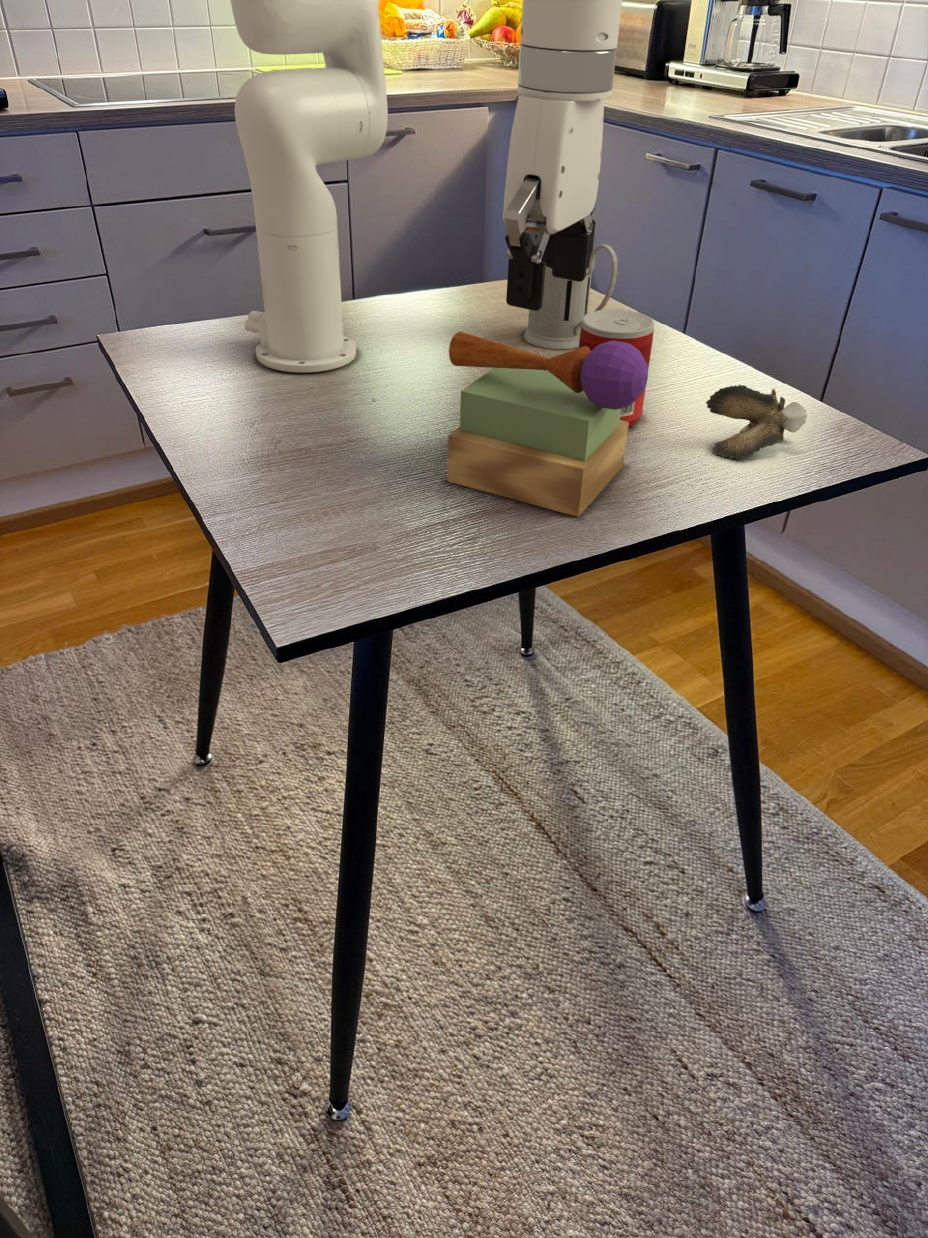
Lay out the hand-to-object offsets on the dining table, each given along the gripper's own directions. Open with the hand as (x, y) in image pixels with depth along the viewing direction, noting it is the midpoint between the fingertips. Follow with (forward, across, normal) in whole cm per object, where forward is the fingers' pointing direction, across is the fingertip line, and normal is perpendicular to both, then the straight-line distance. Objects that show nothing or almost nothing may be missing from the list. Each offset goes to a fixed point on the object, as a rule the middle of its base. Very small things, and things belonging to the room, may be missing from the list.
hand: (547, 292), depth 84 cm
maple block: (+18, 0, +1) cm, 18 cm away
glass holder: (+19, -37, -11) cm, 43 cm away
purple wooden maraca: (+9, 0, +1) cm, 9 cm away
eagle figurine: (+18, -18, +18) cm, 31 cm away
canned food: (+18, -17, +2) cm, 25 cm away
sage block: (+13, 0, +1) cm, 13 cm away
